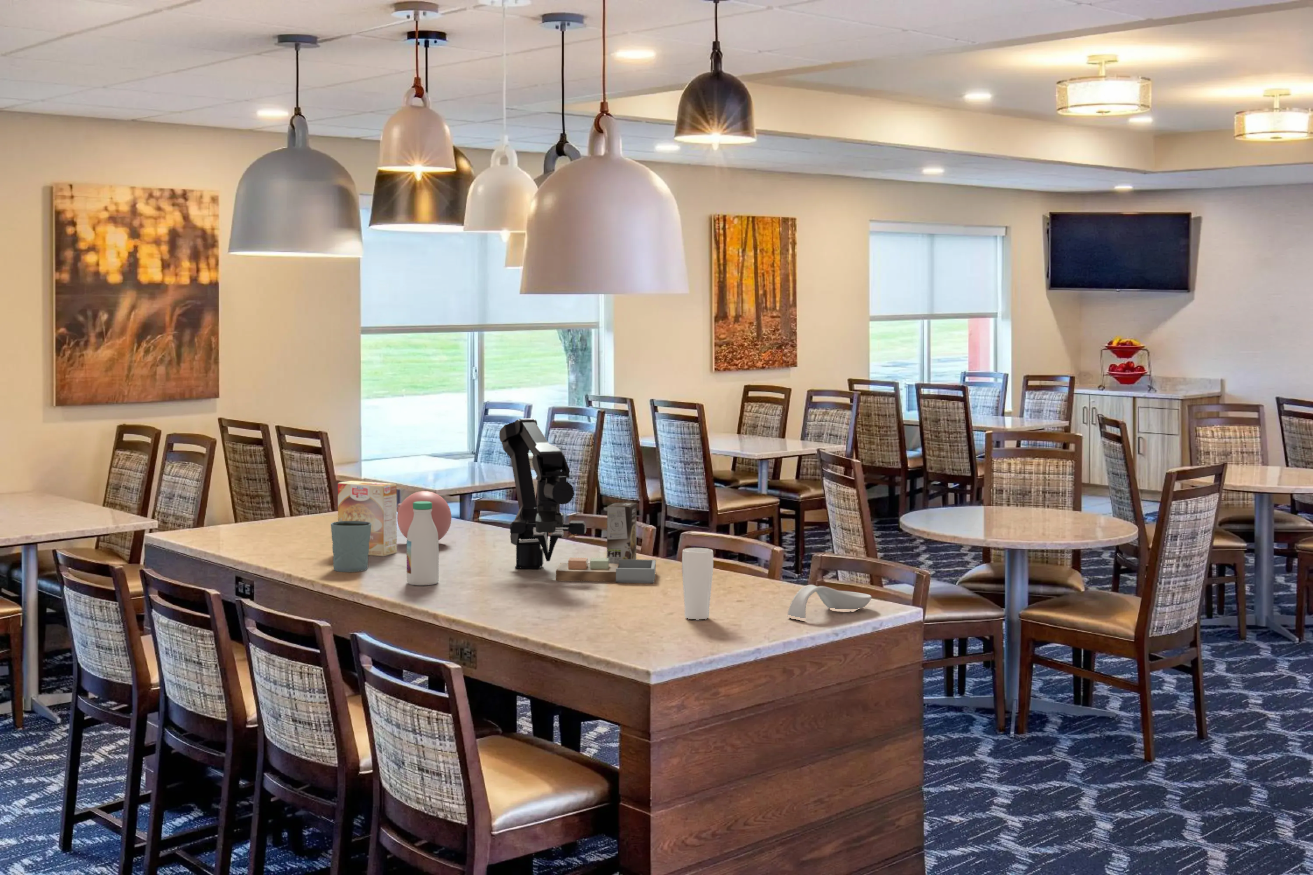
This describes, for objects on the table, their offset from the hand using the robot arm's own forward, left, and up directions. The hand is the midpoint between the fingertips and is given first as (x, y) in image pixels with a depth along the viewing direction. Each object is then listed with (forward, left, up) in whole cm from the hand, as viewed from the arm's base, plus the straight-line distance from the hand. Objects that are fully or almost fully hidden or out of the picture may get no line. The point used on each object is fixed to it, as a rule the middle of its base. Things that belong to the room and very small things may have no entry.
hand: (548, 560), depth 352 cm
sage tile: (+13, 0, -1) cm, 13 cm away
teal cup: (-51, +6, -4) cm, 52 cm away
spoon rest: (+67, -40, -4) cm, 78 cm away
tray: (+22, 0, -4) cm, 23 cm away
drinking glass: (+38, -48, -4) cm, 61 cm away
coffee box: (+18, +20, -4) cm, 27 cm away
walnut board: (+10, 0, -4) cm, 11 cm away
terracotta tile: (+8, 0, -1) cm, 8 cm away
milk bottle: (-29, -12, -4) cm, 32 cm away
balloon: (-42, +50, -4) cm, 66 cm away
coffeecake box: (-53, +32, -4) cm, 62 cm away
